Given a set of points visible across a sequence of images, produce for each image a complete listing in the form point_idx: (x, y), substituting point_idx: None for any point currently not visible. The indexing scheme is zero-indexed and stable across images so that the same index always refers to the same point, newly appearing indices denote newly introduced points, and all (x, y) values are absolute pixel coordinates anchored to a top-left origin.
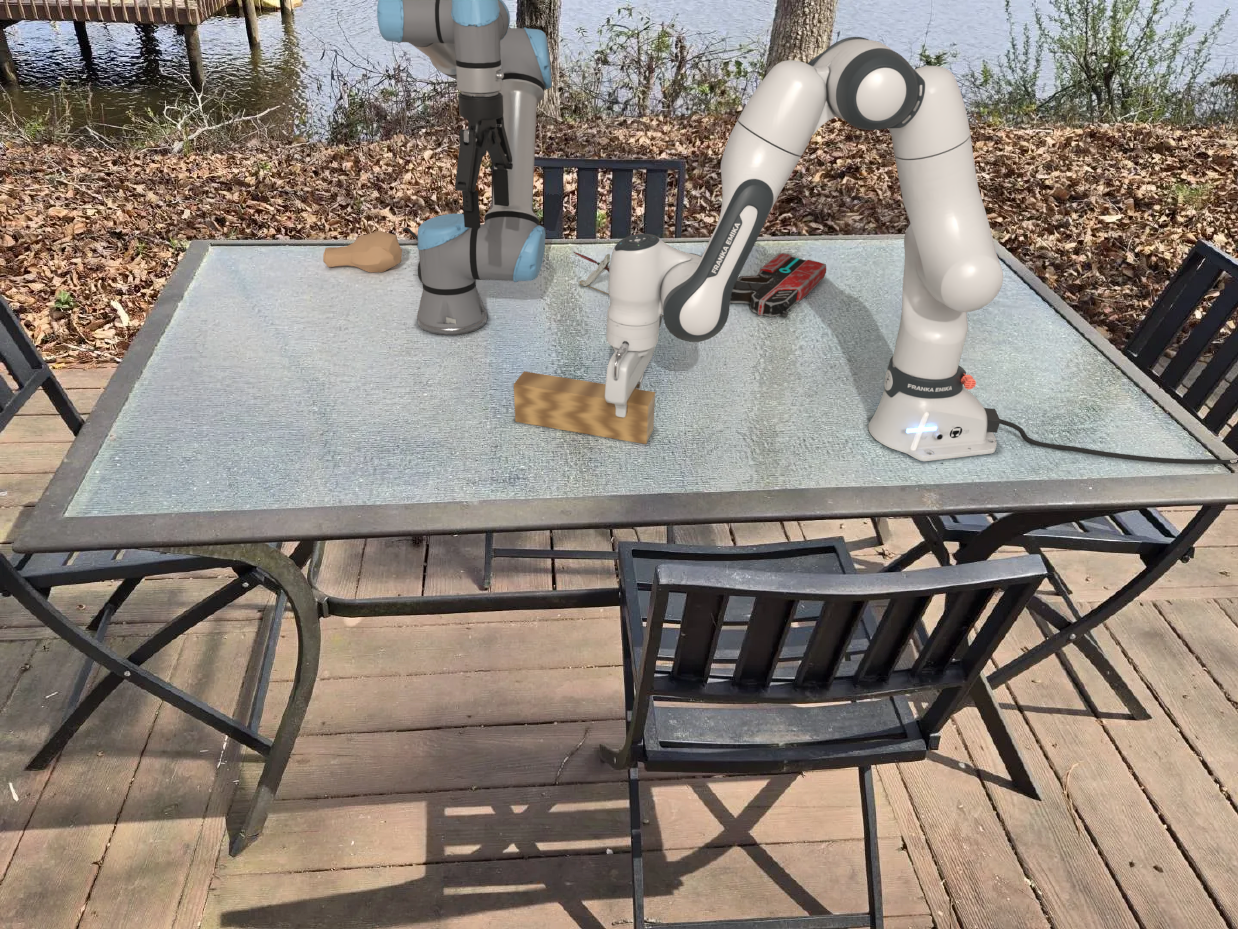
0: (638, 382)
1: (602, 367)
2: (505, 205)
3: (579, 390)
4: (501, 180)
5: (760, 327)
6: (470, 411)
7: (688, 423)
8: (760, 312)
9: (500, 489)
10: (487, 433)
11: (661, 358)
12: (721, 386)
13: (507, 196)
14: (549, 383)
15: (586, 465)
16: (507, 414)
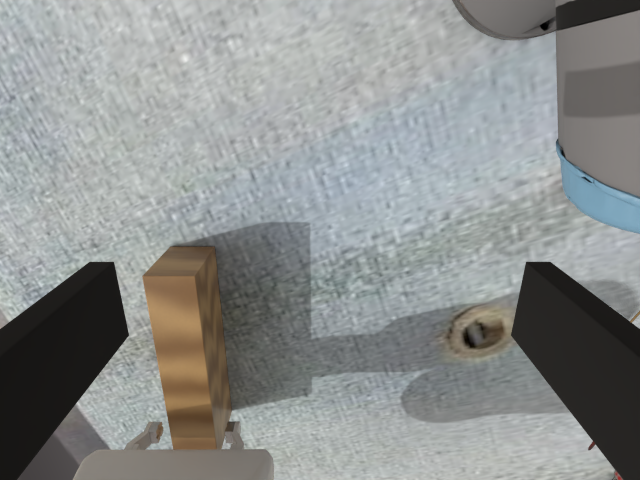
0: (230, 440)
1: (385, 312)
2: (513, 326)
3: (173, 373)
4: (617, 423)
5: (572, 474)
6: (167, 166)
7: (264, 441)
8: (617, 476)
9: (8, 288)
10: (120, 219)
11: (438, 380)
12: (373, 457)
13: (543, 371)
14: (172, 328)
15: (115, 363)
16: (185, 227)
